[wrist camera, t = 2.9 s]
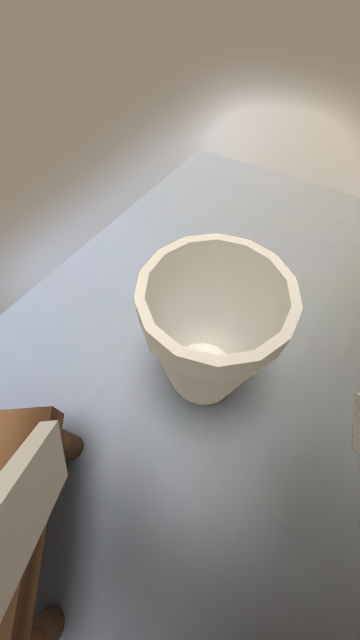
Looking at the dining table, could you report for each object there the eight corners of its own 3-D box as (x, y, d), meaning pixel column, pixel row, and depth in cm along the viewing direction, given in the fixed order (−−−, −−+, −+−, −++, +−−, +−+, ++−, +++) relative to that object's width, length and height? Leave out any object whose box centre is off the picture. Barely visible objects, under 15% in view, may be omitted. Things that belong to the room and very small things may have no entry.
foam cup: (134, 374, 26) (100, 292, 15) (196, 316, 30) (204, 215, 19) (210, 446, 23) (236, 407, 12) (269, 370, 26) (332, 285, 15)
